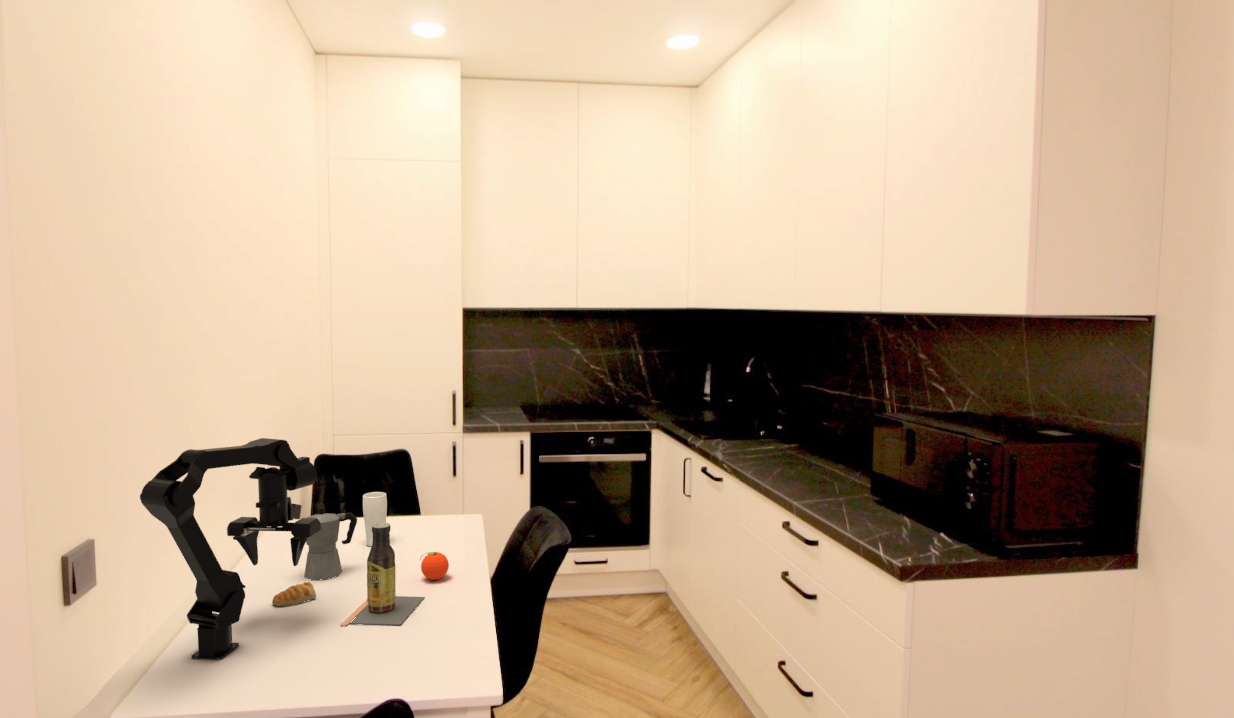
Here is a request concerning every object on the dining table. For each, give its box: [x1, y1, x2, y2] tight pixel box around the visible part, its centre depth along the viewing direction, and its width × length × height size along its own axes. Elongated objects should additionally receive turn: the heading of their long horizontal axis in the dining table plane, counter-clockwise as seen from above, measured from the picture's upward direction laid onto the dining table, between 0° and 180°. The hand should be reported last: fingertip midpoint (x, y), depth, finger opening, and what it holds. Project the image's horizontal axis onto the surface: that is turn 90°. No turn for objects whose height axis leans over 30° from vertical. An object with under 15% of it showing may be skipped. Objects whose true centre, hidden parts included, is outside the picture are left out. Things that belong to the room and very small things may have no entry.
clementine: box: [419, 551, 450, 581], centre depth 196 cm, size 8×7×7 cm
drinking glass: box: [362, 491, 388, 547], centre depth 224 cm, size 7×7×15 cm
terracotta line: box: [340, 599, 368, 626], centre depth 180 cm, size 26×2×1 cm, turn 176°
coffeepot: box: [295, 506, 358, 581], centre depth 200 cm, size 15×9×18 cm, turn 116°
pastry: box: [272, 581, 317, 608], centre depth 182 cm, size 9×7×4 cm
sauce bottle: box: [366, 522, 396, 613], centre depth 175 cm, size 6×6×20 cm
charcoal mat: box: [349, 595, 425, 627], centre depth 175 cm, size 16×12×1 cm
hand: (275, 565), depth 168 cm, fingers open, 9 cm apart
